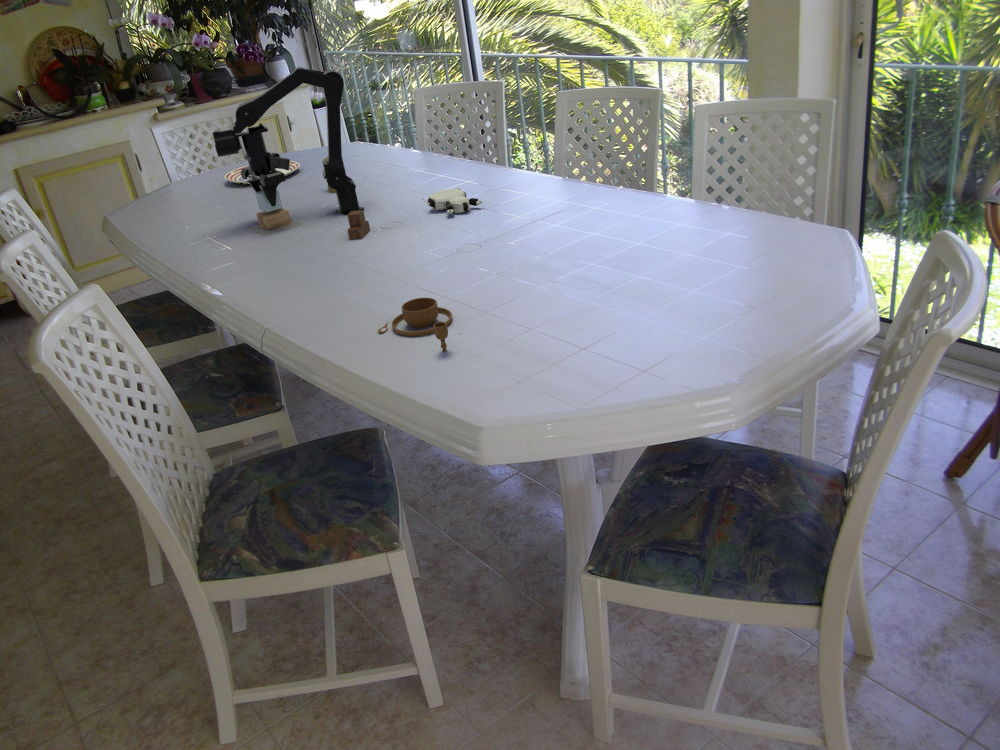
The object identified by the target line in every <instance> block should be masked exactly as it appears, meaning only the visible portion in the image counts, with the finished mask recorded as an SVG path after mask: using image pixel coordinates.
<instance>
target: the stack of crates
mask: <svg viewBox="0 0 1000 750" xmlns="http://www.w3.org/2000/svg"><path fill="white" fill-rule="evenodd" d="M346 216H347V218H348V219H347V220H348V224H349V228H347V235H348V238H349V241H356V240H363V239H364V238H365V237H366V236H367V235H368V234H369V232H371V227H370V226H371V225H370V222H369V220H366V216H365V211H364V210H360V211H351V212H350V213H349V214H348V215H346Z"/></svg>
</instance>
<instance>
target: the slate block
mask: <svg viewBox="0 0 1000 750" xmlns="http://www.w3.org/2000/svg"><path fill="white" fill-rule="evenodd" d="M254 194H255V196H256V200H257V204H258V207H259V210H260V211H261V212H263V211H265V212H269V211H272V210H276V209H279V208H282V209H284V208H283V204H282V200H281V196H280V193H279V190H278V189H277V190H276V206H271V204H270V203H269V201H268V199H267V198H266V196H265V195H264V193H263V192H262V191H260V192H255V193H254Z"/></svg>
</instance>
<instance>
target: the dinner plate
mask: <svg viewBox="0 0 1000 750" xmlns="http://www.w3.org/2000/svg"><path fill="white" fill-rule="evenodd" d="M300 166H301V164H300V163H299V162H297V161H294V160H290V166H289V170H285V169H278V168H275V169H276V170H277V171H280V172H283V173H284V174H285V176H286V177H288V176H289V175H291V174H292V173H293V172H295V171H296V170H298V169H299V168H300ZM246 167H249V164H248V165H246V166H241V167H238V168H235V169H233V170H230V171H229V172H227V173H226V174H225V175H224V176H223V177H224V179H225V180H227V181H228V182H231V183H234V184H235V183H236V184H240V183H243V184H242V185H244V184H248V183H247V181H239V180H238V179H239V178H240V177H242V176H241V173H240V172H241V170H242V168H246Z"/></svg>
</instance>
